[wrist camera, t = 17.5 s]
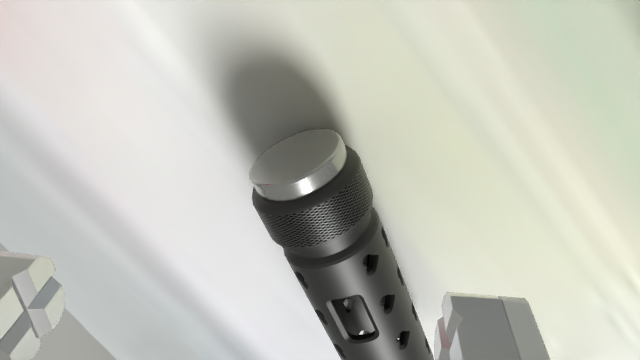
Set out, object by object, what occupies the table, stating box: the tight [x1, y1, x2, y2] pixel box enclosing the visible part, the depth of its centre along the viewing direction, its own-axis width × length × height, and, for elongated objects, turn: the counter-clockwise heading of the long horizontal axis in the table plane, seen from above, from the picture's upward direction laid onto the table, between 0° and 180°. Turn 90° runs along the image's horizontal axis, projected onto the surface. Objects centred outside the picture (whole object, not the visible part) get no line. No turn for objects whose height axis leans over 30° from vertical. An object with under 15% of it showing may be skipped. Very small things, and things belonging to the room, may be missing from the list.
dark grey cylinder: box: [250, 129, 434, 360], centre depth 44 cm, size 10×28×10 cm, turn 21°
